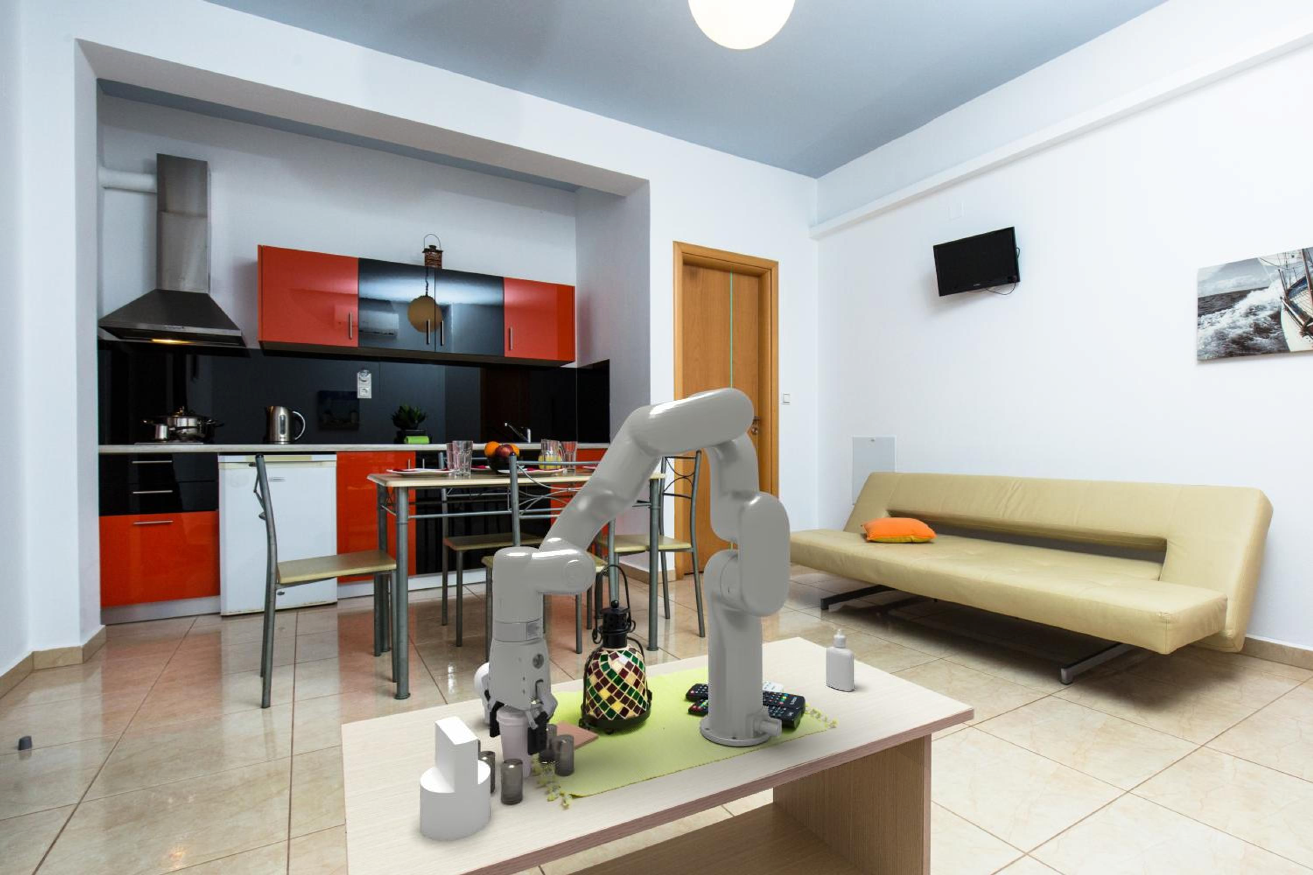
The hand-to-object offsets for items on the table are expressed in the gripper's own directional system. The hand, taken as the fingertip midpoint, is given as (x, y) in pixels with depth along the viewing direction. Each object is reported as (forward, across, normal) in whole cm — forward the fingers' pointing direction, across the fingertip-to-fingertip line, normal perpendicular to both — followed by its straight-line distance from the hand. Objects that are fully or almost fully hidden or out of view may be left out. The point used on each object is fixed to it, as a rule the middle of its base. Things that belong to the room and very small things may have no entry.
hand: (517, 742), depth 97 cm
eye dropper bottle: (+5, -24, -65) cm, 69 cm away
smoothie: (+5, 0, 0) cm, 5 cm away
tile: (+5, +4, -13) cm, 14 cm away
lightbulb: (+5, +18, -9) cm, 21 cm away
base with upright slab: (+5, -3, +13) cm, 14 cm away
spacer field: (+5, 0, 0) cm, 5 cm away
